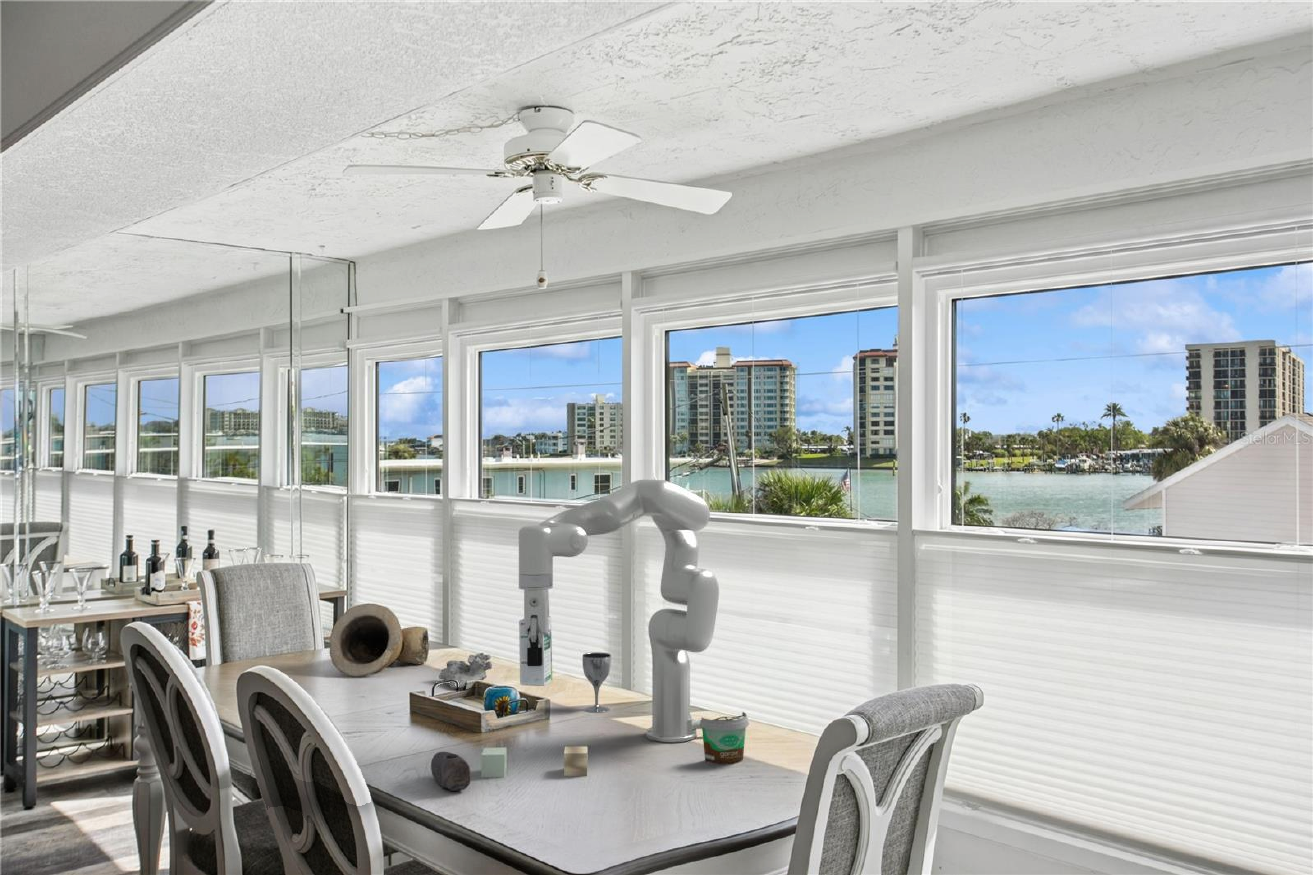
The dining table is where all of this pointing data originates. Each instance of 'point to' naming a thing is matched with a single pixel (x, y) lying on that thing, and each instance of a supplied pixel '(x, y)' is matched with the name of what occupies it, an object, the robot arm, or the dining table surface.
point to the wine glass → (596, 675)
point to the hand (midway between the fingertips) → (535, 661)
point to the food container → (724, 739)
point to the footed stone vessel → (374, 641)
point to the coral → (466, 670)
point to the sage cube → (493, 762)
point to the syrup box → (543, 672)
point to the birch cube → (575, 761)
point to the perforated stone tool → (451, 771)
